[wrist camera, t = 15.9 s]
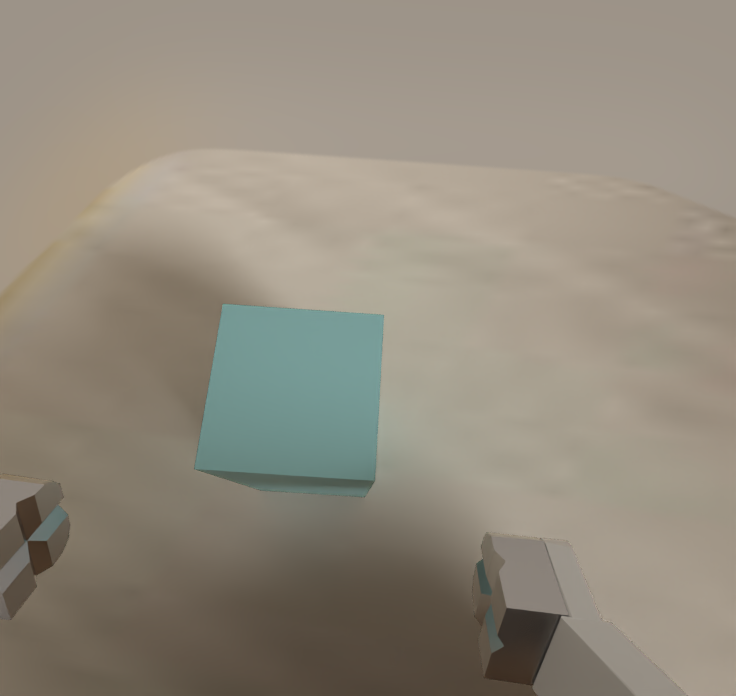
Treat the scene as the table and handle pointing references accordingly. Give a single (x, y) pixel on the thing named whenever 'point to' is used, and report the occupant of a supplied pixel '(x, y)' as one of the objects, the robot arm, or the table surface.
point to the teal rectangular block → (294, 400)
